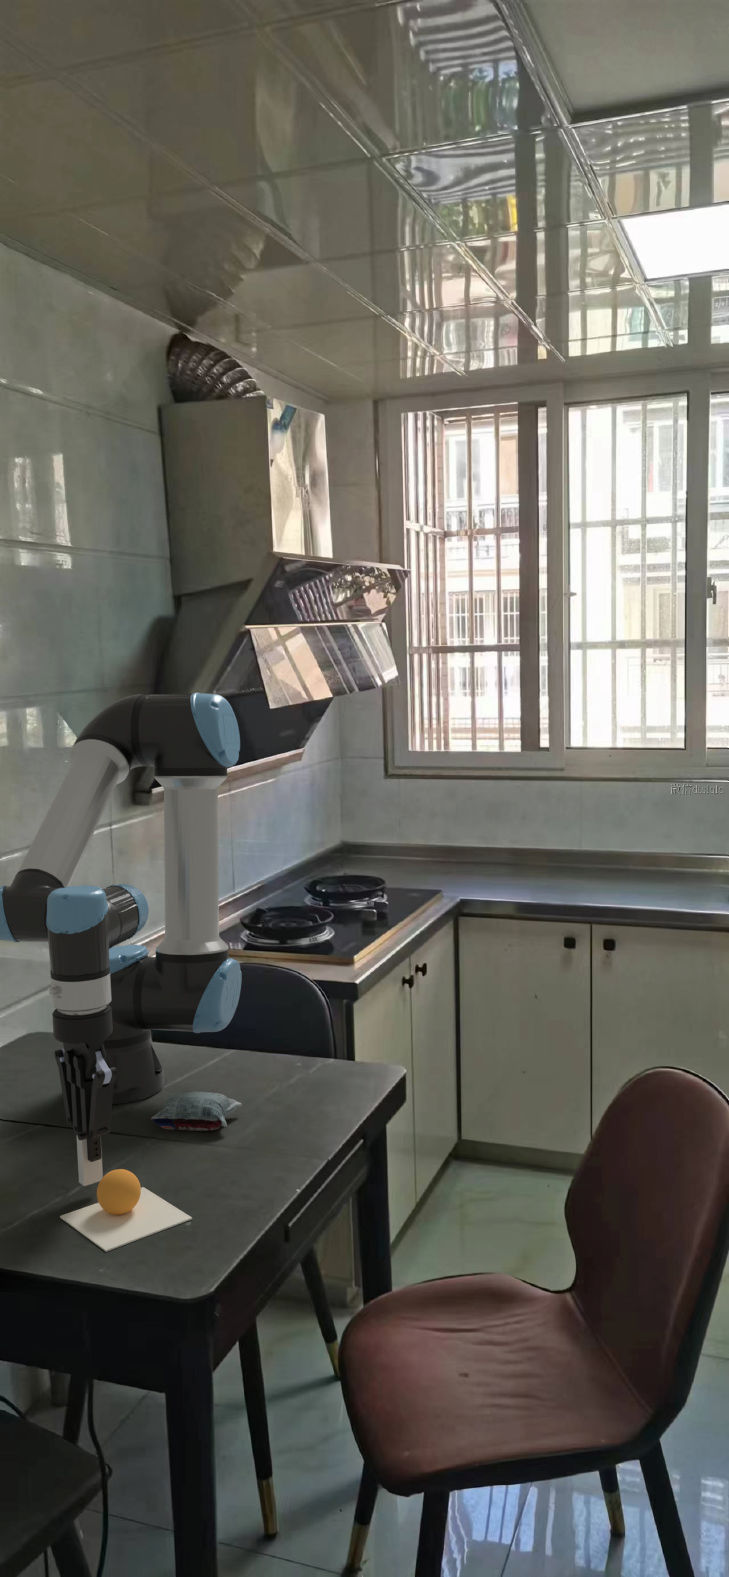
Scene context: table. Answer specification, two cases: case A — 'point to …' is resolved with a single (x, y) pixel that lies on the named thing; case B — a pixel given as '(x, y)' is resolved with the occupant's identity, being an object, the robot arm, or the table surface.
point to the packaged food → (195, 1111)
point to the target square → (125, 1221)
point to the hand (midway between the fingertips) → (91, 1181)
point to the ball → (118, 1191)
